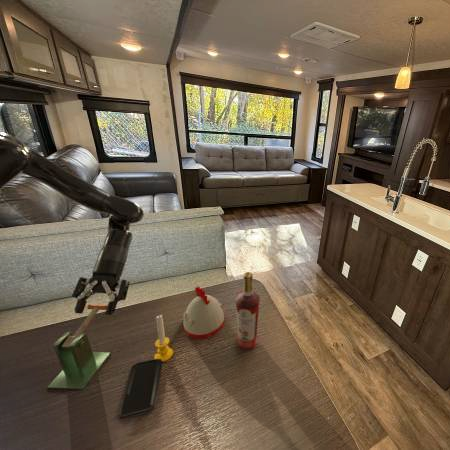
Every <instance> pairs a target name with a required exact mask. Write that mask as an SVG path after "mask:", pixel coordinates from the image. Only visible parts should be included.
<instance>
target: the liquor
mask: <svg viewBox="0 0 450 450" xmlns="http://www.w3.org/2000/svg"><path fill="white" fill-rule="evenodd" d="M242 275H243V277H242V279H243V280H242V281H243V290H242V292H241V293H239V294H238V295H237V296H236V297H235V306H236V307H235V311H236V320H237V321H236V322H237V340H236V343H237V346H238V347H239V348H241V349H243V350H249V349H253V348H254V347H255V346H257V344H258V341H259V340H258V339H259V338H258V321H259V313H260V311H259V310H260V296H259V294H257V293H256V292H254V291H253V284H252V283H253V273H252V272H250V271H246V272H244V273H243V274H242Z"/></svg>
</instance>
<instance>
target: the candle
mask: <svg viewBox="0 0 450 450" xmlns="http://www.w3.org/2000/svg"><path fill="white" fill-rule="evenodd" d="M164 326H165V325H164V318H163V315H162V314H159V315H157V316H156V329H157V336H158V338H157V340H155V342H154V345H155V347H156V348H157V350H156V351H157V353H155V354H154V355H153V360H154V359H161V360H162V363H164V362H167V361H169V360H170V359H171V358H172V357H173V355H174V350H173V349H172V348H171V347H169V345H168V344H169V343H170V338H169V337H167V336H166V334H165V327H164Z"/></svg>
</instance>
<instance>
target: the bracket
mask: <svg viewBox="0 0 450 450" xmlns="http://www.w3.org/2000/svg"><path fill="white" fill-rule="evenodd" d="M69 336H73V334H72V332H71V331H66V332H65V333H64V334H62V336H61V337H60V338H59V339H58V340H57V341H55V342H54V343H53V344H52V347H53V349H54V352H55V354H56V357H57V359H58V361H59V363H60V366H61V369H62V370H61V371H60V372H59V373H58V375H57V376H56V377H55V378H54V379H53V380H52V381H51V382H50V383H49V384H48V385H47V387H46V389H49V390H77V391H79V390H80V391H81V390H82V391H83V390H84V389H85V388H86V386H87V385H88V384H89V383H90V382H91V380H92V379H93V377H94V376H95V375H96V374H97V372H98V371H99V370H100V369H101V367H102V366H103V365H104V364H105V362H106V361H107V359H108V358H109V357H110V356H111V353H112V352H105V351H102V352H101V351H93V349H92V347H91V343H90V341H89V337H88V334H87V332H82V333H81V334H80V335H79V336H78V337H77V338H76V339H75V340H74V341H73V342H72V343H71V344H70V345H69V347H70V350H71V351H66V350H65V349H63V348H62V347H61V346H62V345H63V344H64V342H65V341H66V340H67V338H68V337H69Z"/></svg>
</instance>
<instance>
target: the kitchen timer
mask: <svg viewBox="0 0 450 450" xmlns="http://www.w3.org/2000/svg"><path fill="white" fill-rule="evenodd" d="M194 291H195V293H196V297H194V298H193V299H192V300H191V301H190V303H189V304H188V306H187V308H186V310H185V312H183V316H182V317H183V330H184V332H185V334H186V335H187V336H188V337H190V338H193V339H206V337H207V338H209V337H212V336H214V335H216V334H217V333H218V332H219V331H220V330H221V329H222V328H223V327H224V325H223V324H225V314H224V311H223V304H222V303H221V302H220V301H219V299H218V298H216V297H213V296H212V295H209V294H206V292H205V290H203V288H201V287H200V286H197V287H194Z"/></svg>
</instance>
